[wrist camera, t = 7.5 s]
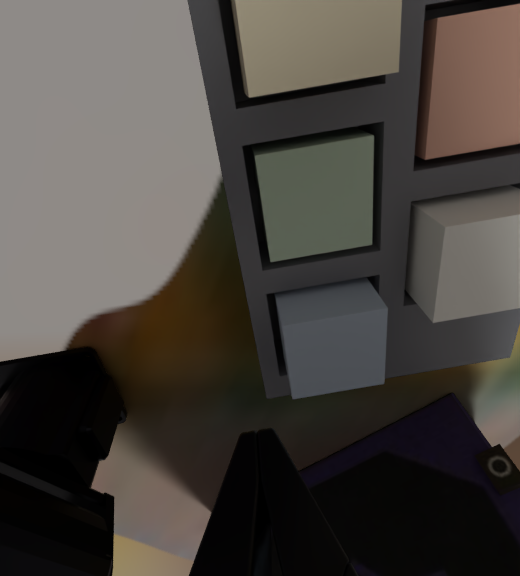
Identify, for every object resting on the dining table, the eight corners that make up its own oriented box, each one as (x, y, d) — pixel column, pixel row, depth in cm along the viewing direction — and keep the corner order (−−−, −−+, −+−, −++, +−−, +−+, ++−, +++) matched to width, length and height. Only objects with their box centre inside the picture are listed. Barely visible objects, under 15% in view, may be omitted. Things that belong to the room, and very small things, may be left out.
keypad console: (260, 350, 23) (266, 398, 20) (171, -112, 12) (151, -182, 9) (552, 300, 23) (609, 340, 20) (720, -208, 12) (911, -315, 9)
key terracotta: (393, 146, 16) (425, 159, 14) (398, 27, 14) (438, 17, 12) (489, 129, 16) (539, 140, 14) (510, 8, 14) (574, -6, 12)
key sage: (263, 235, 18) (270, 262, 15) (249, 142, 16) (254, 155, 13) (350, 220, 18) (372, 244, 15) (349, 124, 16) (374, 135, 13)
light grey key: (403, 287, 18) (433, 323, 15) (409, 201, 16) (445, 227, 13) (490, 272, 18) (534, 305, 15) (508, 184, 16) (564, 206, 13)
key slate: (283, 356, 20) (292, 399, 17) (273, 288, 17) (282, 326, 15) (363, 343, 20) (384, 383, 17) (363, 273, 17) (387, 307, 15)
